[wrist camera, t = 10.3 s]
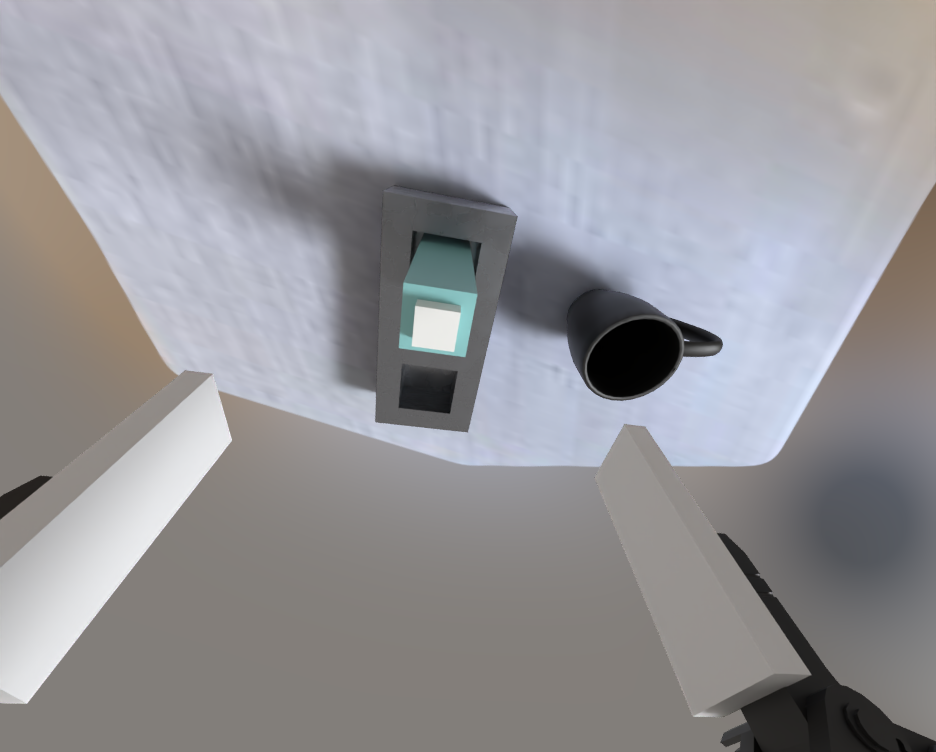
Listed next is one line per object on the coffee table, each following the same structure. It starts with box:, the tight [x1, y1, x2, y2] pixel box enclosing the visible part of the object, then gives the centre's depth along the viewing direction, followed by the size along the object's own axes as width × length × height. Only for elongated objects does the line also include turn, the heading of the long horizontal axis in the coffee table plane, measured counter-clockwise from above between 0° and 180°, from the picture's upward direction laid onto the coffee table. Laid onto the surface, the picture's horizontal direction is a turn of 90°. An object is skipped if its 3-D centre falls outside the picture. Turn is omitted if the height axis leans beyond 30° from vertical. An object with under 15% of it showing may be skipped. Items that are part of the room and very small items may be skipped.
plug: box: [399, 233, 477, 357], centre depth 25 cm, size 4×4×15 cm
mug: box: [567, 289, 723, 401], centre depth 32 cm, size 8×12×10 cm
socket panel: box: [375, 186, 518, 432], centre depth 33 cm, size 22×10×5 cm, turn 170°
